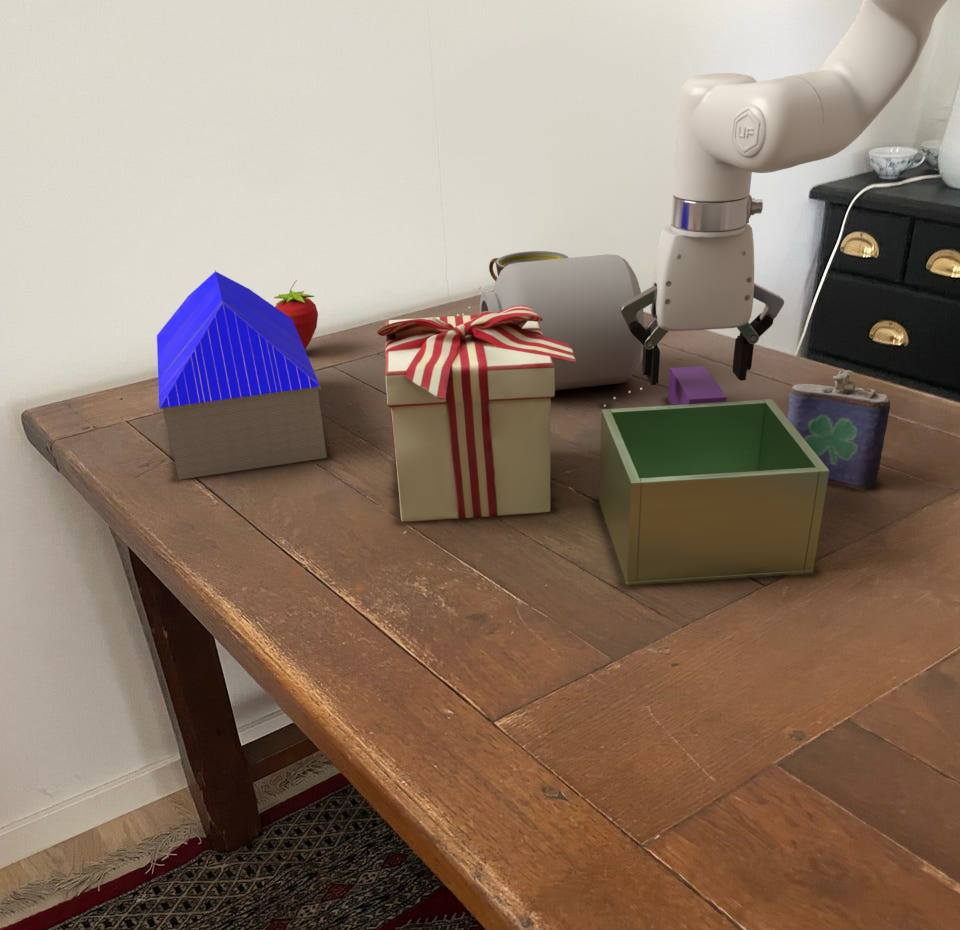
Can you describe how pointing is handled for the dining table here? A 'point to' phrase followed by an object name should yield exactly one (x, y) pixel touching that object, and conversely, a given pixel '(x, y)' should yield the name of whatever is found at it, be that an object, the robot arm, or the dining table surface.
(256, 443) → the house
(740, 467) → the open box
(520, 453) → the gift box
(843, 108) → the robot arm
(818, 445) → the flask
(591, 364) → the jar
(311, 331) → the strawberry
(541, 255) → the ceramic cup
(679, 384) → the purple block
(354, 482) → the dining table surface
